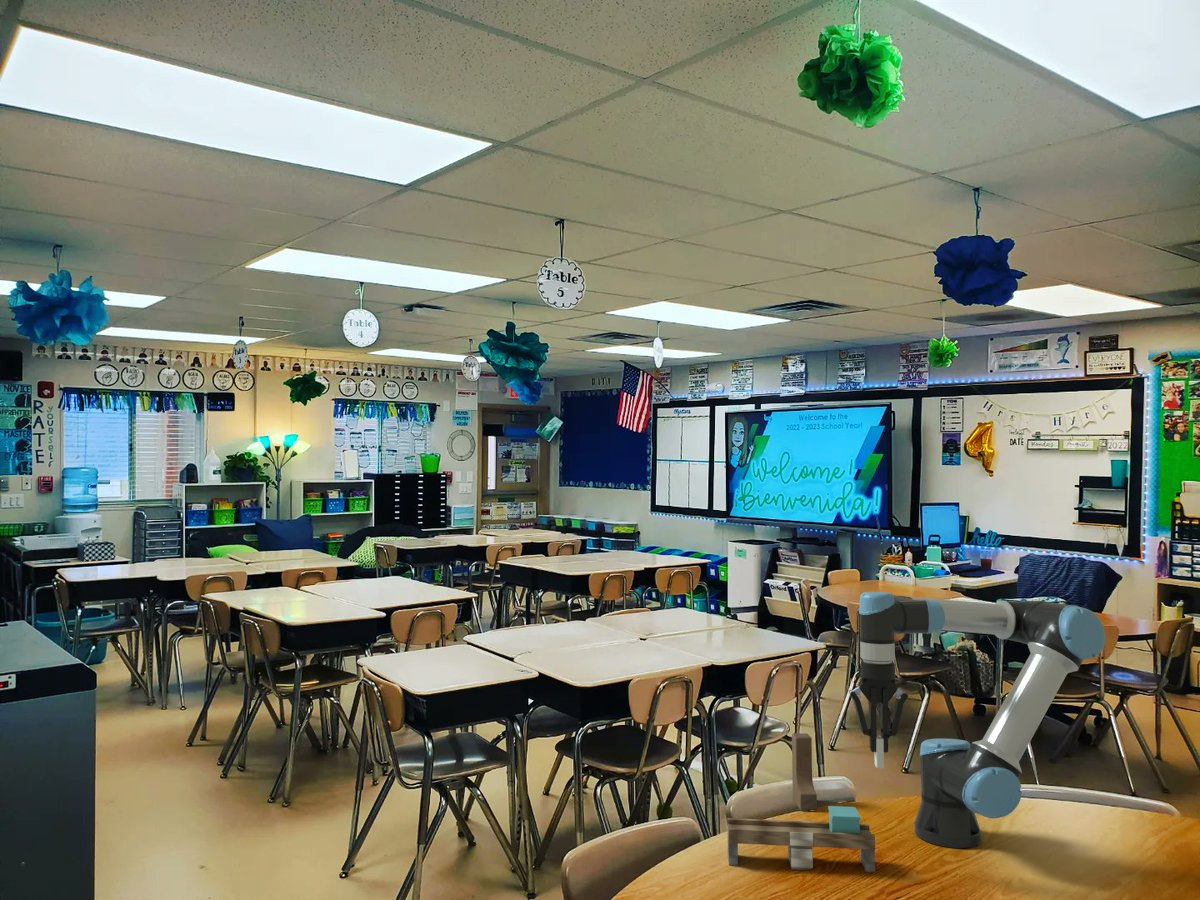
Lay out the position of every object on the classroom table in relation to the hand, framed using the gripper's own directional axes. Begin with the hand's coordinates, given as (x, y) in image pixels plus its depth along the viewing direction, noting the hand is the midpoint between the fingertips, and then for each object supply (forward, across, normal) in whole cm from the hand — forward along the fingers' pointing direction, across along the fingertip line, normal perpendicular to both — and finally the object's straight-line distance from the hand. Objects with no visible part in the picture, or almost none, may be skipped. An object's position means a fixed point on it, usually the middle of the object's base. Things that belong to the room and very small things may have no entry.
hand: (879, 766), depth 191 cm
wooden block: (+22, +12, -38) cm, 46 cm away
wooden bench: (+22, +18, 0) cm, 28 cm away
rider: (+15, +8, 0) cm, 17 cm away
